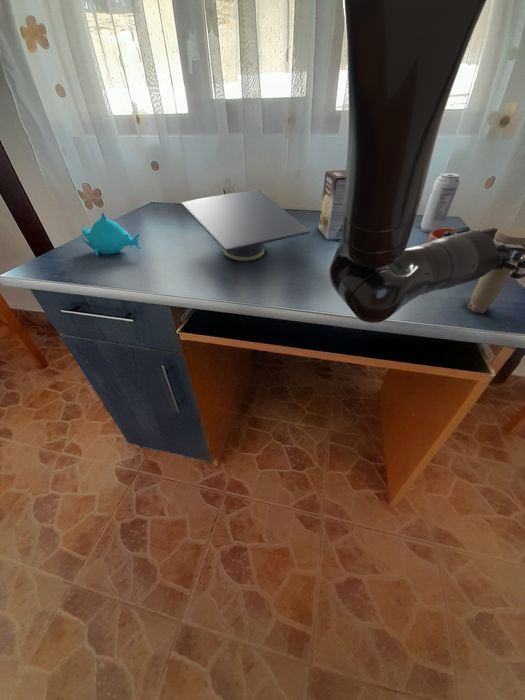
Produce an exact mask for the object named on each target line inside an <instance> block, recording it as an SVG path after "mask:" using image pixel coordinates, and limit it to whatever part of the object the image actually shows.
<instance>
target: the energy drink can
mask: <svg viewBox="0 0 525 700" xmlns="http://www.w3.org/2000/svg"><path fill="white" fill-rule="evenodd" d="M459 177H460V174H458V173H453V172H441V173H440V174H439V176H438V177H437V178H436V179H435V181H434V183H433V187H432V190H431V193H430V195H429V199H428V202H427V204H426V206H425V207H426V208H425V210H424V214H423V217H422V219H421V222H420V225H419V226H420V228H421V231H423V232H426V233H429V234H430V232H431V231H432V230H434V229H438V228H444V227H443V226H444V224H445V221H446V219H447V216H448V213H449V211H450V209H451V205H452V204H453V201H454V198H455V195H456V192H457V190H458V187H459V185H460V178H459Z"/></svg>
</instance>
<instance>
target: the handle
mask: <svg viewBox="0 0 525 700" xmlns="http://www.w3.org/2000/svg"><path fill="white" fill-rule="evenodd" d="M494 240H495V242H502V243H503V244H515V245H522V246H523V247H524V248H525V227H523V226H505V227H501V228H498V230H497V232H496V234H495V236H494ZM509 252H510V257H511V256H512V254H513V252H514V251H512V250H509ZM511 273H512V271H511V270H508V269H504V268H503V269H493V270H491V271H490V272H488V273H487V274H486V275H484V276H483V277H481V278H478V279H479V280H478V281H477V282H476V285H475V287H474V289H473V292H472V295H471V298H470V301H469V302H468V306H467V309H469V310H470V311H472V313H479V314H484V313H485V312H487V311H488V309H489V307H490V306H491V305H493V303H494V301H496V299H497V297H498V296H499V295H500V293H501V291H502V289H503V288H504V286H505V285H506V283H507V280H508V278H509V277H510V275H511Z"/></svg>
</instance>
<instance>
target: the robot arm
mask: <svg viewBox="0 0 525 700" xmlns="http://www.w3.org/2000/svg"><path fill="white" fill-rule="evenodd" d="M486 2H487V0H342V6H343V17H344V18H343V19H344V29H345V42H346V62H347V83H348V84H347V87H348V88H347V89H348V132H347V133H348V134H347V135H348V136H347V154H346V156H347V157H346V168H345V170H346V179H345V192H344V207H343V224H342V238H341V239H340V240H339V243H338V245H337V248H336V251H335V253H334V256H333V258H332V261H331V264H330V266H329V269H328V270H329V271H328V275H329V280H330V284H331V286H332V288H333V290H334V291H335V292H336V294H337V295H338V296H339V298H341V299H342V301H343V303H345V305H346V306H347V307H348V308H349V309H350V310H351V312H352V313H353V314H354V315H355V316H356V317H357V319H359V320H360V321H362V322H364V323H371V324H376V323H377V324H378V323H381V322H384V321H386V320H388V319H389V318H391V317H392V316H393V315H395V314H396V313H397V312H398V311H400V310H401V309H402V308H403V307H405V306H406V305H407V304H408V303H410V302H412V301H414V300H415V299H417V298H418V297H420V296H422V295H425V294H428V293H431V292H435V291H440V290H445V289H446V290H447V289H450V288H453V287H456V286H459V285H463V284H466V283H469V282H472V281H475V280H478V279H480V278H481V277H483V276H484V275H486V274H487V273H488V272H490V271H491V270H493V269H503V268H504V269H508V270H511V273H510V274H509V277H510V278H512V279H516V280H520V279H523V278H525V257H522V256H524V255H525V248H524V247H523V246H522V245H515V244H503V243H502V242H497V241H494V240H495V238H494V236H495V234H496V232H497V230H499V228H495V227H491V228H487V229H484V230H483V229H482V230H481V229H473V230H471V227H469V226H462V227H458V228H455V230H451V231H448V232H445V234H444V236H443V237H442V238H438V239H435V240H433V241H431V242H428V243H427V242H426V243H422V244H417V245H414V246H409V247H407V246H408V243H409V240H410V237H411V234H412V230H413V227H414V225H415V222H416V221H415V220H416V217H417V214H418V212H419V208H420V204H421V201H422V197H423V194H424V191H425V186H426V182H427V179H428V175H429V170H430V165H431V162H432V158H433V153H434V150H435V146H436V141H437V137H438V133H439V131H440V127H441V124H442V120H443V116H444V113H445V110H446V107H447V104H448V101H449V98H450V95H451V92H452V89H453V86H454V84H455V82H456V78H457V75H458V73H459V70H460V67H461V64H462V62H463V59H464V56H465V54H466V52H467V48H468V47H469V43H470V41H471V39H472V36H473V34H474V31H475V28H476V26H477V24H478V22H479V19H480V17H481V14H482V12H483V9H484V8H485V5H486V4H487V3H486ZM509 250H512V251H514V252H513V254H512V256H511V257H510V252H509Z"/></svg>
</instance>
